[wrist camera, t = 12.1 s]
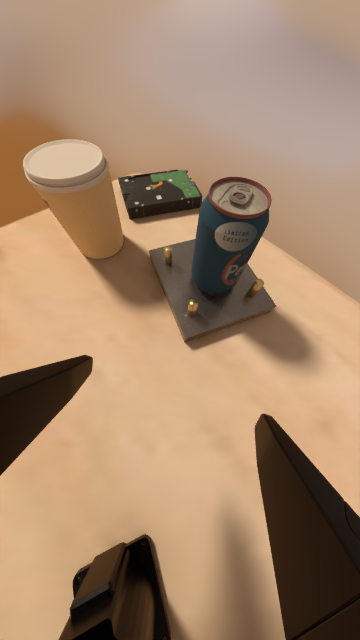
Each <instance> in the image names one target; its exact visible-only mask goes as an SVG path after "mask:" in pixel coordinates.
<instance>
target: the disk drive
mask: <svg viewBox="0 0 360 640" xmlns="http://www.w3.org/2000/svg"><path fill="white" fill-rule="evenodd" d="M187 172H188V171H187V170H171V171H165V172H157V173H150V174H142V175H134V176H126V177H121V178H118V180H119V184H120V188H121V192H122V195H123V198H124V202H125V205H126V209H127V212H128V215H129V219H135V218H142V217H147V216H152V215H158V214H164V213H170V212H175V211H182V210H189V209H194V208H199V207H201V202H202V194H201V193H200V191H199V189H198V188H197V186H196V184H195V182H194V181H193V180H192V179H191V177H190V175H189V174H188V173H187Z"/></svg>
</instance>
